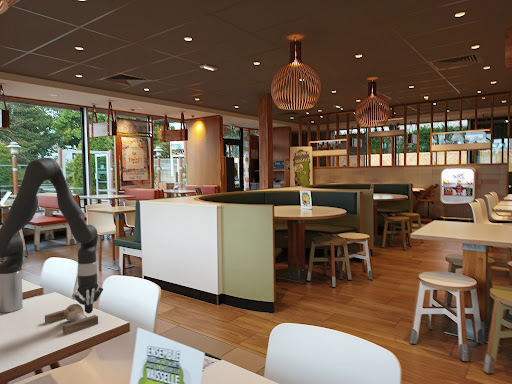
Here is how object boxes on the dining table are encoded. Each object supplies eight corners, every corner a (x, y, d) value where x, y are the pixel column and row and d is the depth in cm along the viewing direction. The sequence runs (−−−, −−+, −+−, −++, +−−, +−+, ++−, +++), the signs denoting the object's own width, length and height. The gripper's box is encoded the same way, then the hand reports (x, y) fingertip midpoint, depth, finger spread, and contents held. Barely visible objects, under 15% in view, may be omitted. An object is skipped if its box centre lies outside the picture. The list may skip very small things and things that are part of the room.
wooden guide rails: (44, 322, 151) (44, 315, 150) (76, 312, 161) (76, 306, 161) (66, 334, 140) (65, 327, 140) (98, 323, 150) (98, 316, 150)
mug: (75, 329, 145) (64, 307, 146) (70, 332, 152) (59, 310, 153) (93, 319, 150) (83, 297, 151) (87, 323, 157) (77, 302, 158)
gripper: (97, 267, 162) (98, 306, 163) (67, 274, 152) (68, 315, 153) (106, 270, 158) (108, 309, 159) (76, 277, 147) (77, 320, 148)
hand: (88, 312), depth 156 cm, fingers closed
